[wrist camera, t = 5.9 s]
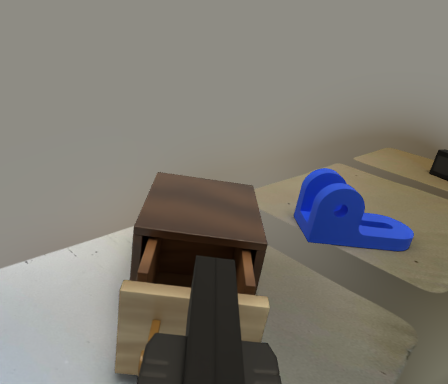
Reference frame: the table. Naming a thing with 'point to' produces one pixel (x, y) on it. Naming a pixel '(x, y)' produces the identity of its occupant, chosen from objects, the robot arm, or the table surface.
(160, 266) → the drawer
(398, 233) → the bracket
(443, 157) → the digital camera
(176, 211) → the cabinet
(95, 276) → the table surface
